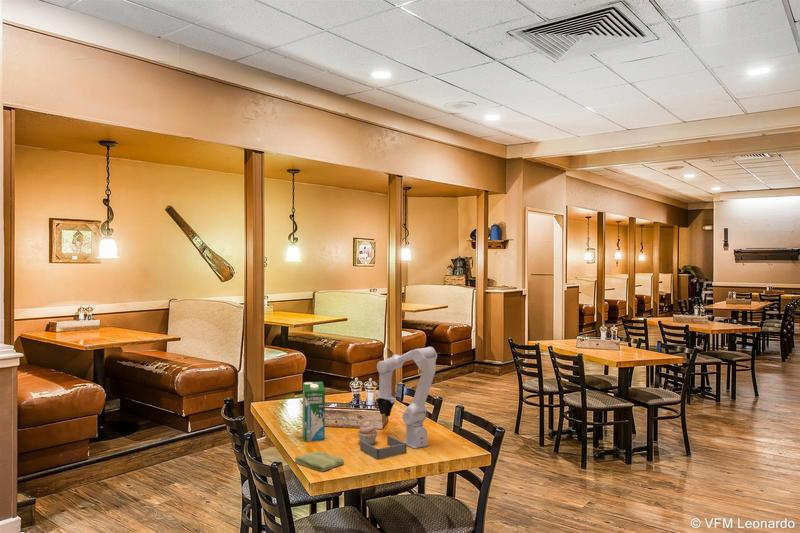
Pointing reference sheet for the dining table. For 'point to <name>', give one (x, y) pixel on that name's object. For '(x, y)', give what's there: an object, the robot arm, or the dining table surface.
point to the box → (393, 449)
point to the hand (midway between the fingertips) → (385, 415)
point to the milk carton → (313, 411)
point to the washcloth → (319, 461)
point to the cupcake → (367, 433)
